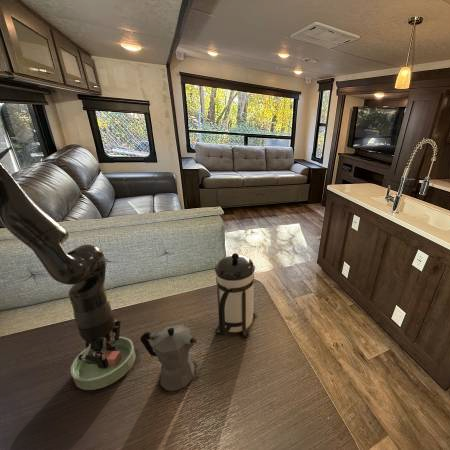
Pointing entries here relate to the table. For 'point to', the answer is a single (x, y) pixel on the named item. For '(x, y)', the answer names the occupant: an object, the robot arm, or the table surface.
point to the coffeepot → (172, 355)
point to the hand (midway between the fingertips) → (108, 361)
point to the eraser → (112, 358)
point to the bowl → (102, 377)
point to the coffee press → (235, 293)
